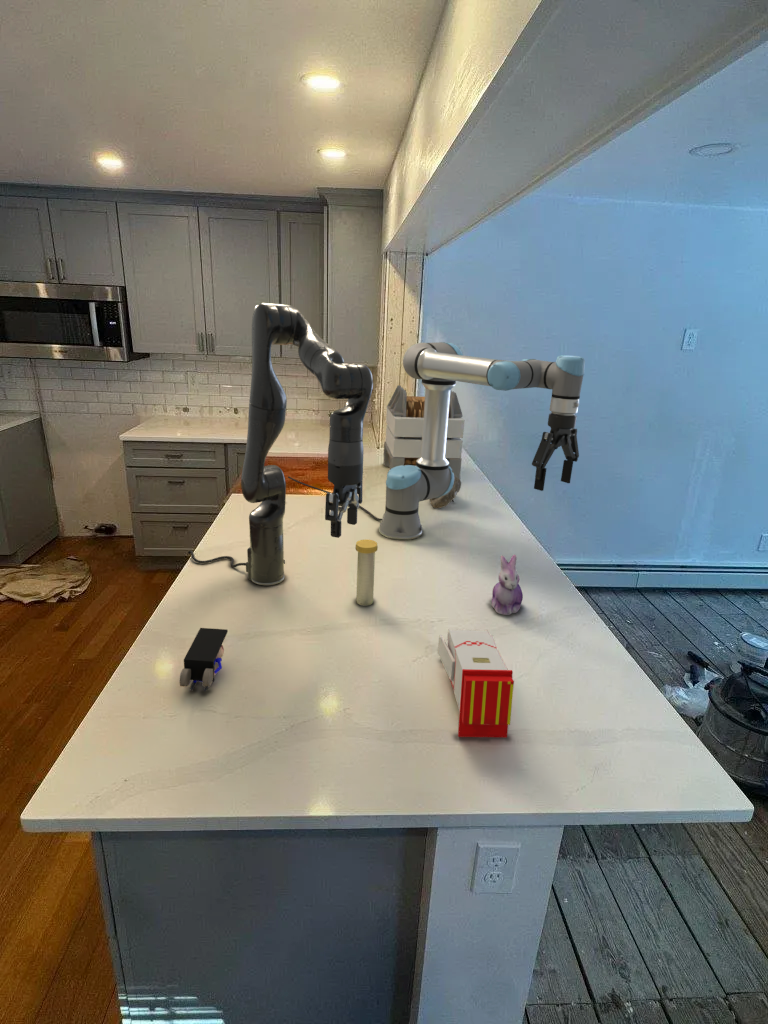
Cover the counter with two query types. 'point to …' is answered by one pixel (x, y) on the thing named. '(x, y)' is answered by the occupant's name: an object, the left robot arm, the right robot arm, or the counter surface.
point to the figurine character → (203, 658)
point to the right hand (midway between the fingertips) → (552, 485)
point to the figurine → (507, 588)
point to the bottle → (365, 578)
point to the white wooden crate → (418, 431)
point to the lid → (366, 546)
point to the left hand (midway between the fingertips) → (344, 530)
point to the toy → (478, 682)
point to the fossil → (447, 495)
